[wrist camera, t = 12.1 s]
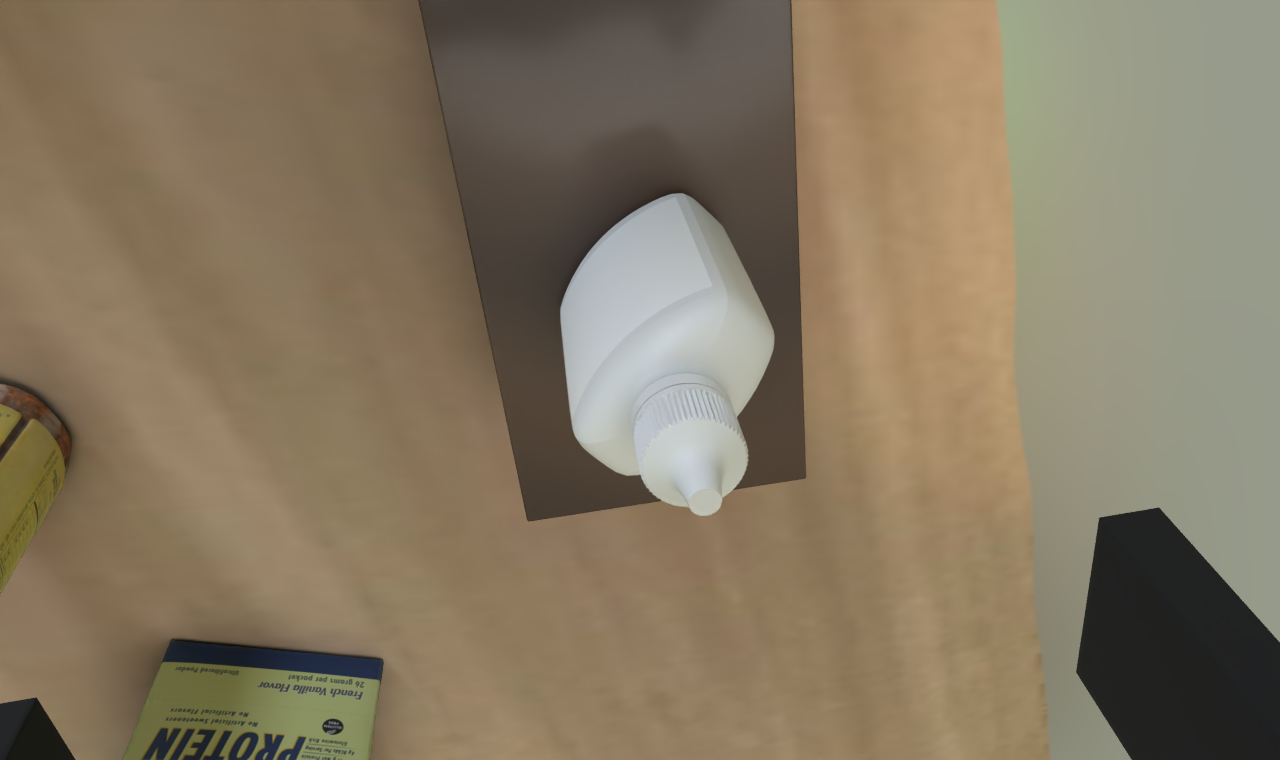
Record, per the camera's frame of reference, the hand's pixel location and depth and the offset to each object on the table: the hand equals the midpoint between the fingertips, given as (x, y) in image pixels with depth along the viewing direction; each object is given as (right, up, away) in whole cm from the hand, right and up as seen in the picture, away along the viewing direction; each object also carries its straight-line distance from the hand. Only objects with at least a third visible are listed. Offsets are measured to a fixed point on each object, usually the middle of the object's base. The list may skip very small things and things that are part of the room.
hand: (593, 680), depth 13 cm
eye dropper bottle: (+1, +7, +19) cm, 20 cm away
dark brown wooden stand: (-1, +12, +27) cm, 30 cm away
